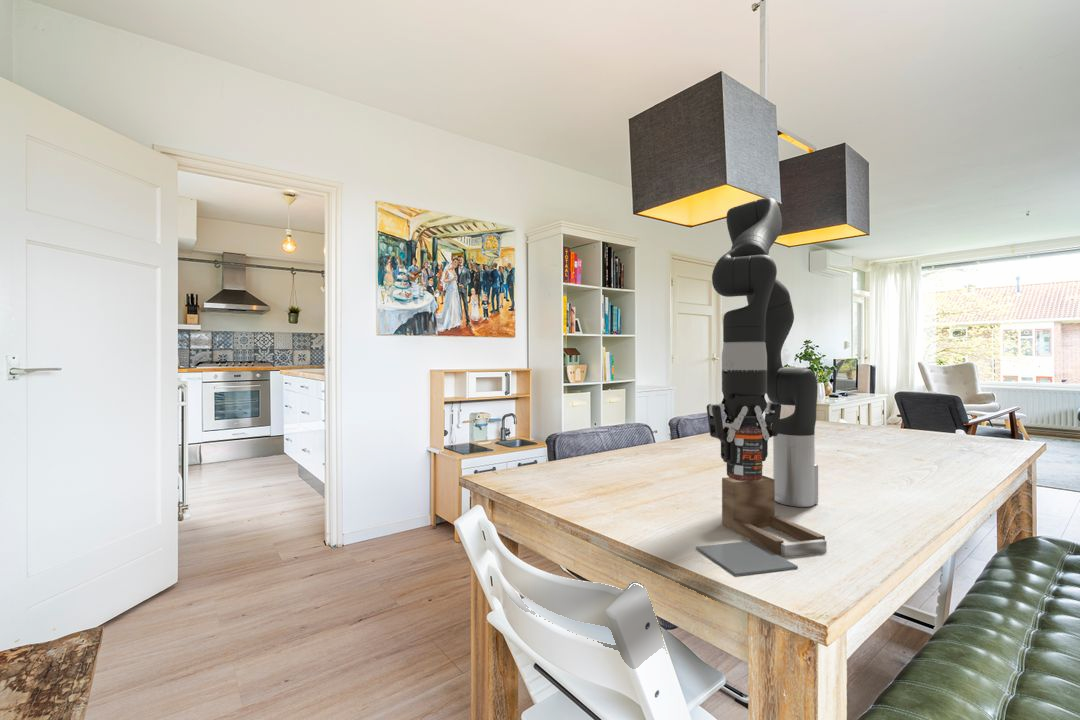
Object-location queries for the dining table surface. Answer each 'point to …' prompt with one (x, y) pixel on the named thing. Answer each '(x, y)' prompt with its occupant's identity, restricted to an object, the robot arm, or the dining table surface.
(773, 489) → the dispenser
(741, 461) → the supplement bottle
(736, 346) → the robot arm
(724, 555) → the plate
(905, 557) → the dining table surface
